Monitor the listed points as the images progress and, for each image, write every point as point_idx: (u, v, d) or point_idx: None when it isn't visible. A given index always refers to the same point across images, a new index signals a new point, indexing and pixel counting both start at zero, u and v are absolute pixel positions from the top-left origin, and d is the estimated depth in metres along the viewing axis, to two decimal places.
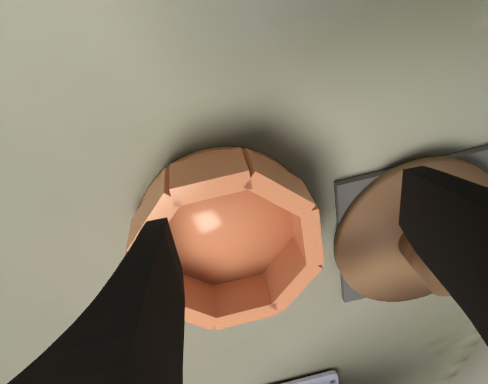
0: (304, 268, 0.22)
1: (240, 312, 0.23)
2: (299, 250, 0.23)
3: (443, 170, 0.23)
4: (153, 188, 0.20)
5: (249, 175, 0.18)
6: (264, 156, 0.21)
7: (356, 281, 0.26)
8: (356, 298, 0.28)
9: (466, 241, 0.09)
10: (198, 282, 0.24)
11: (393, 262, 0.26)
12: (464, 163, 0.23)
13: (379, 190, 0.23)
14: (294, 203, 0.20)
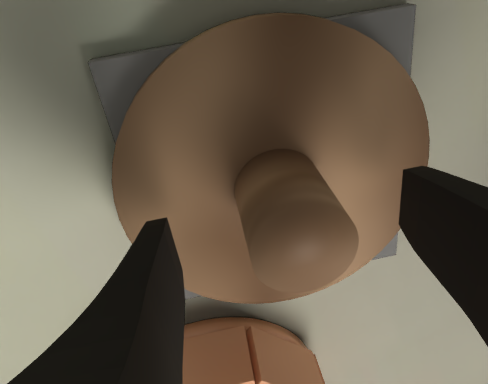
0: None
1: None
2: None
3: (129, 188, 0.13)
4: None
5: None
6: None
7: None
8: (393, 239, 0.17)
9: (466, 241, 0.09)
10: None
11: None
12: (115, 151, 0.12)
13: None
14: None
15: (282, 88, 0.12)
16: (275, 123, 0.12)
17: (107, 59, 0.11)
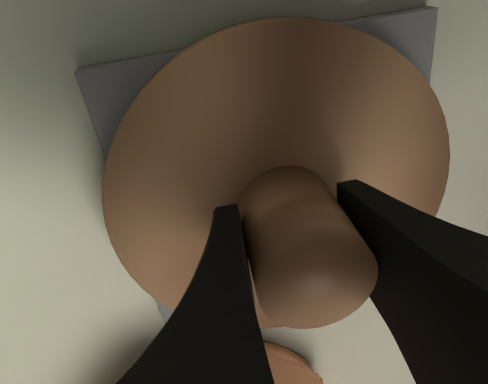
0: None
1: None
2: None
3: (121, 209, 0.12)
4: None
5: None
6: None
7: None
8: None
9: (385, 258, 0.09)
10: None
11: None
12: (105, 169, 0.11)
13: (164, 298, 0.14)
14: None
15: (290, 100, 0.11)
16: (282, 138, 0.11)
17: (96, 68, 0.10)
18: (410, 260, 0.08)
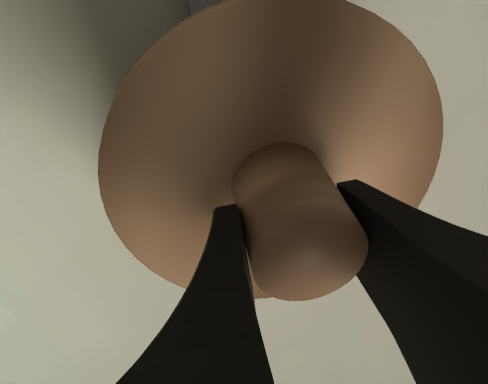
0: None
1: None
2: None
3: (117, 181, 0.12)
4: None
5: None
6: None
7: None
8: None
9: (386, 258, 0.09)
10: None
11: None
12: (101, 140, 0.11)
13: (157, 268, 0.14)
14: None
15: (290, 76, 0.11)
16: (280, 114, 0.11)
17: None
18: (410, 260, 0.08)
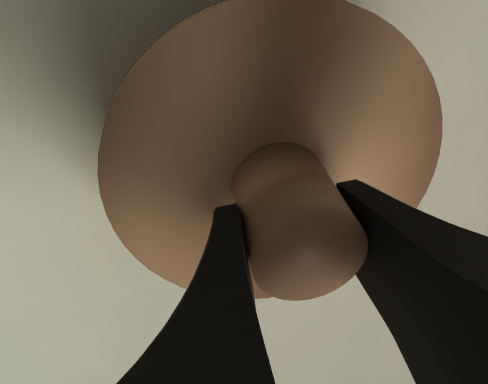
0: None
1: None
2: None
3: (117, 180, 0.12)
4: None
5: None
6: None
7: None
8: None
9: (385, 259, 0.09)
10: None
11: None
12: (101, 140, 0.11)
13: (157, 268, 0.14)
14: None
15: (290, 76, 0.11)
16: (280, 114, 0.11)
17: None
18: (410, 260, 0.08)
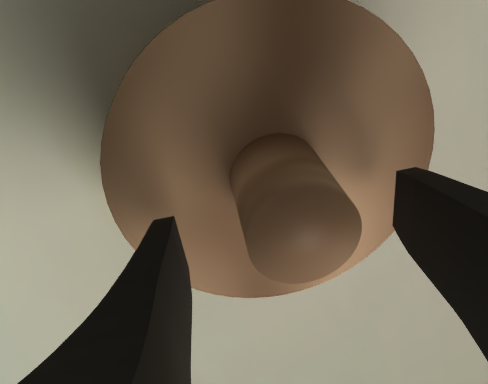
0: None
1: None
2: None
3: (119, 170, 0.12)
4: None
5: None
6: None
7: None
8: None
9: (458, 243, 0.09)
10: None
11: None
12: (104, 129, 0.11)
13: None
14: None
15: (284, 68, 0.11)
16: (275, 105, 0.12)
17: None
18: None
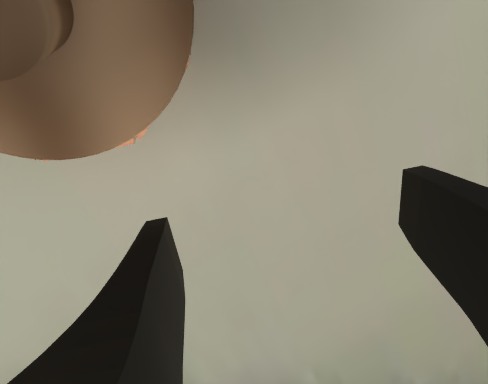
0: None
1: None
2: None
3: None
4: None
5: None
6: None
7: (131, 121, 0.15)
8: None
9: (466, 241, 0.09)
10: None
11: (86, 57, 0.14)
12: None
13: None
14: None
15: None
16: None
17: None
18: None
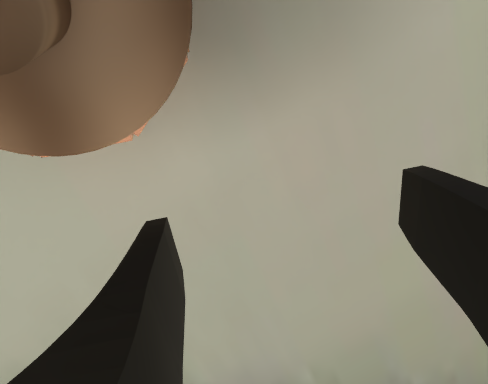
0: None
1: None
2: None
3: None
4: None
5: None
6: None
7: (129, 118, 0.15)
8: None
9: (466, 241, 0.09)
10: None
11: (83, 53, 0.14)
12: None
13: None
14: None
15: None
16: None
17: None
18: None
